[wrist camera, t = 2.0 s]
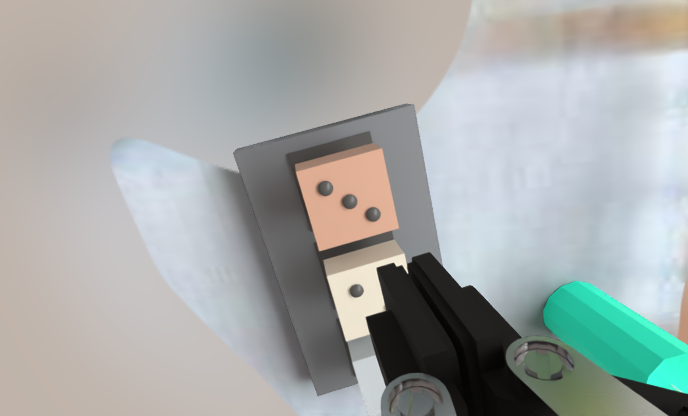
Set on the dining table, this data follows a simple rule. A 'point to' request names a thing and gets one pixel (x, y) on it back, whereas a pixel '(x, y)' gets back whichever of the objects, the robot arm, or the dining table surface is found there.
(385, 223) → the key three
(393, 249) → the key two
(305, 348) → the keypad board
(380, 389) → the key one
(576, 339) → the candle
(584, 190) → the dining table surface
